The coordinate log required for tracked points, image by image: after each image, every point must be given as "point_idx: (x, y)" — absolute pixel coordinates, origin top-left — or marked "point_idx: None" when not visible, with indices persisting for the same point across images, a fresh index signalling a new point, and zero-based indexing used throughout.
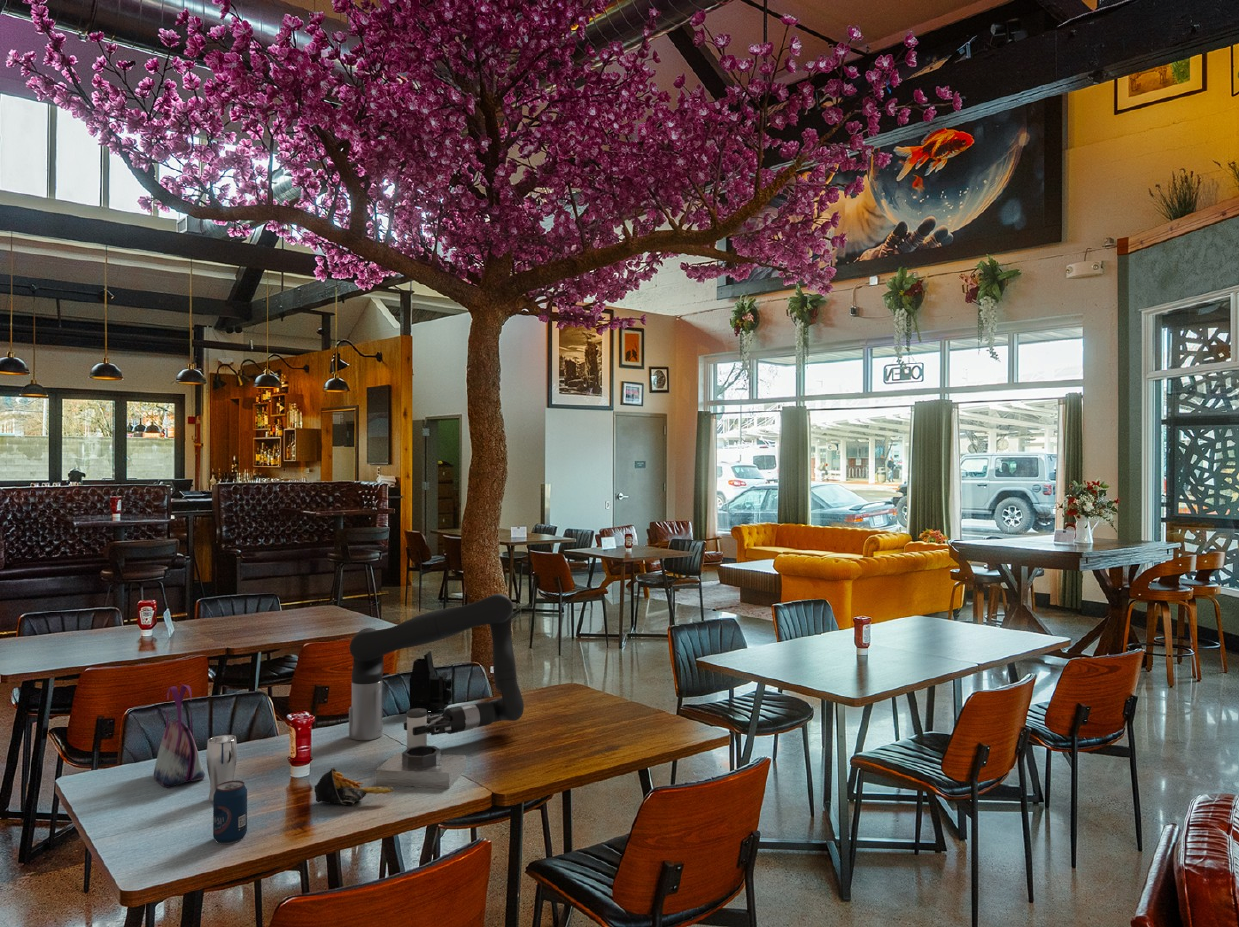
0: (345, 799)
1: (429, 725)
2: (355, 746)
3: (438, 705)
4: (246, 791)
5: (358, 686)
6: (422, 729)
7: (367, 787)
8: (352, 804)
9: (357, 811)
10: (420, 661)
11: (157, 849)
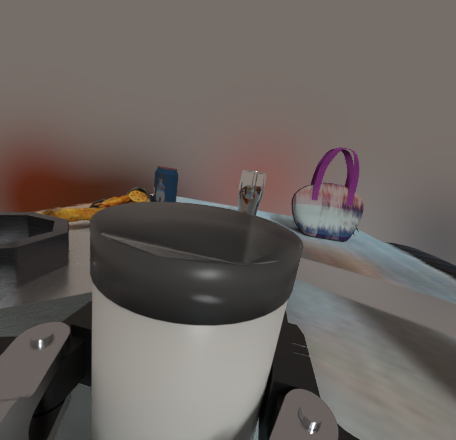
0: None
1: (16, 338)
2: (430, 377)
3: None
4: (157, 172)
5: None
6: (84, 312)
7: (84, 208)
8: None
9: (85, 222)
10: None
11: (190, 202)
